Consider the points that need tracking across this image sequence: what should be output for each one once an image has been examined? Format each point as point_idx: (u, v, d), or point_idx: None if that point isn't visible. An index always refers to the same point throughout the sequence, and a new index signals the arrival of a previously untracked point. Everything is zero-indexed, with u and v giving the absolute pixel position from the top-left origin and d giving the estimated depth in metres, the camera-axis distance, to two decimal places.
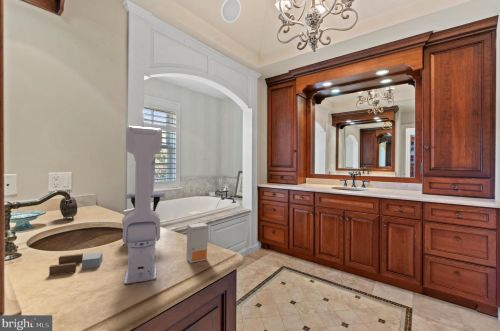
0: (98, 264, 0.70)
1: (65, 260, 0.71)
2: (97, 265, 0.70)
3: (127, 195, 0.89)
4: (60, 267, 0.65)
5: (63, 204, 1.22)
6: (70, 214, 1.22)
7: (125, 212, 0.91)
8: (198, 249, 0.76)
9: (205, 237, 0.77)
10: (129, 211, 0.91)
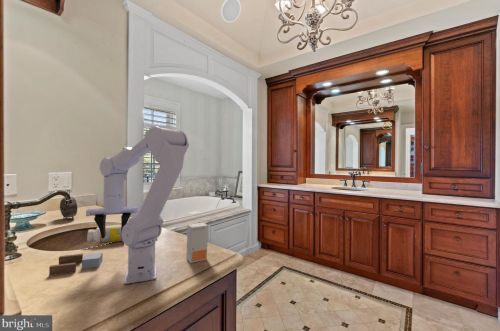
0: (98, 264, 0.70)
1: (65, 260, 0.71)
2: (97, 265, 0.70)
3: (88, 212, 0.70)
4: (60, 267, 0.65)
5: (63, 204, 1.22)
6: (70, 214, 1.22)
7: (89, 237, 0.87)
8: (198, 249, 0.76)
9: (205, 237, 0.77)
10: (89, 233, 0.87)
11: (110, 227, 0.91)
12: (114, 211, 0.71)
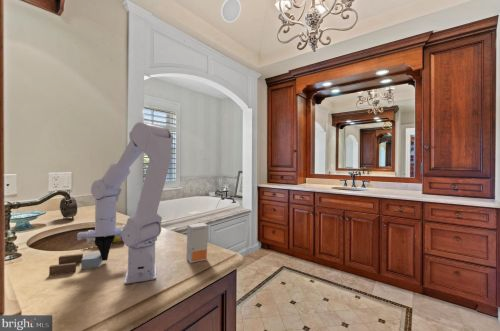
0: (97, 264, 0.70)
1: (65, 260, 0.71)
2: (96, 265, 0.70)
3: (79, 235, 0.69)
4: (60, 267, 0.65)
5: (63, 204, 1.22)
6: (70, 214, 1.22)
7: (88, 239, 0.86)
8: (198, 249, 0.76)
9: (205, 237, 0.77)
10: None
11: None
12: (106, 234, 0.70)
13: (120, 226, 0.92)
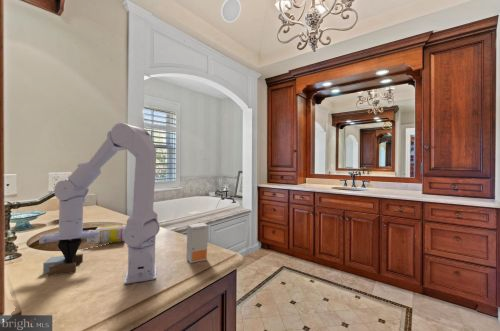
0: None
1: None
2: None
3: (41, 238, 0.66)
4: (60, 267, 0.65)
5: None
6: None
7: (88, 239, 0.86)
8: (198, 249, 0.76)
9: (205, 237, 0.77)
10: None
11: (110, 229, 0.90)
12: (70, 237, 0.67)
13: (120, 226, 0.92)
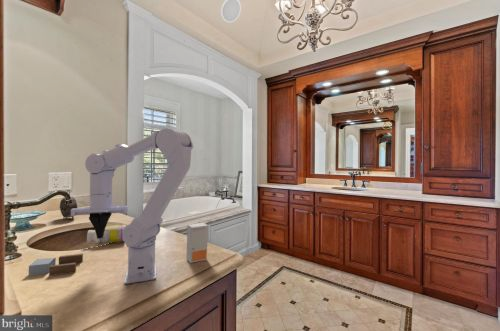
0: (47, 270, 0.66)
1: (65, 260, 0.71)
2: (46, 271, 0.66)
3: (73, 211, 0.66)
4: (60, 267, 0.65)
5: (63, 204, 1.22)
6: (70, 214, 1.22)
7: (88, 239, 0.86)
8: (198, 249, 0.76)
9: (205, 237, 0.77)
10: (88, 234, 0.86)
11: (110, 229, 0.90)
12: (101, 210, 0.67)
13: (120, 226, 0.92)
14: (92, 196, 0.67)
